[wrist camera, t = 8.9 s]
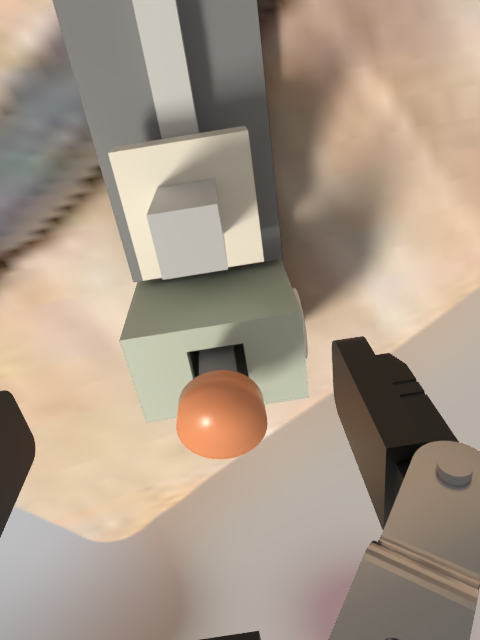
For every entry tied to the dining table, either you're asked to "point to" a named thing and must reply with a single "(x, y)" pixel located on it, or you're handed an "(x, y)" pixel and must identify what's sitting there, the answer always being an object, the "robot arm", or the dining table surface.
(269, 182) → the rail board
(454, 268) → the dining table surface
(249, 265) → the end cabinet
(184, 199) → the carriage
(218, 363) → the button
